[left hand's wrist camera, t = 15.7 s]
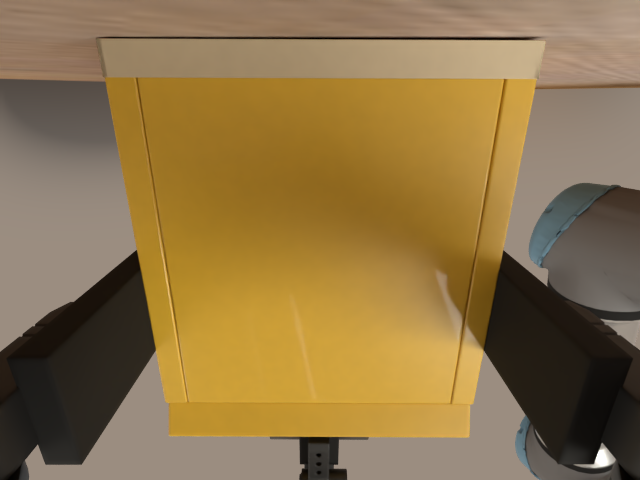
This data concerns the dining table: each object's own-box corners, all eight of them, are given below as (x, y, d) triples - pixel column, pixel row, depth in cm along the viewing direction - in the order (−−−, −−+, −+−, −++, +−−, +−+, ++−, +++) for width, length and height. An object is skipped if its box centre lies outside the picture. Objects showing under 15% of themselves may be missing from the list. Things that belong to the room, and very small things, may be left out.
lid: (381, 305, 30) (381, 421, 30) (257, 304, 30) (257, 420, 30) (471, 402, 12) (469, 685, 12) (167, 400, 12) (167, 683, 12)
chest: (397, 79, 24) (386, 229, 28) (244, 78, 24) (253, 229, 28) (546, 40, 8) (474, 405, 12) (95, 38, 8) (164, 404, 12)
